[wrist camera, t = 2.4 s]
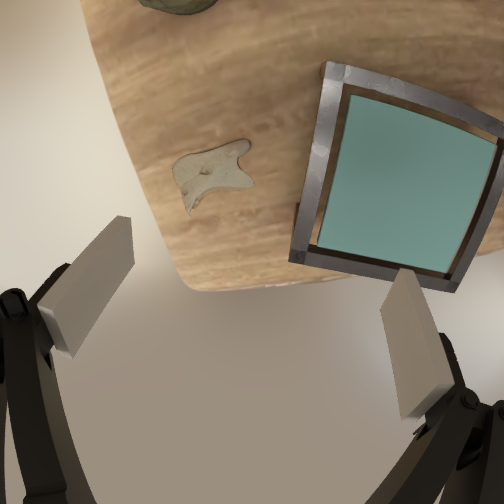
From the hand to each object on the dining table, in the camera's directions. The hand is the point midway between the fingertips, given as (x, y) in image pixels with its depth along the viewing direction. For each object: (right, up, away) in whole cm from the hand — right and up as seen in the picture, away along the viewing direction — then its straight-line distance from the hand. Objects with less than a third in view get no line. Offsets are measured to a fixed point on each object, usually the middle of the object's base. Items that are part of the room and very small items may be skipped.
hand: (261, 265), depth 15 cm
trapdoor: (+14, +6, +11) cm, 18 cm away
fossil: (-5, +11, +24) cm, 26 cm away
